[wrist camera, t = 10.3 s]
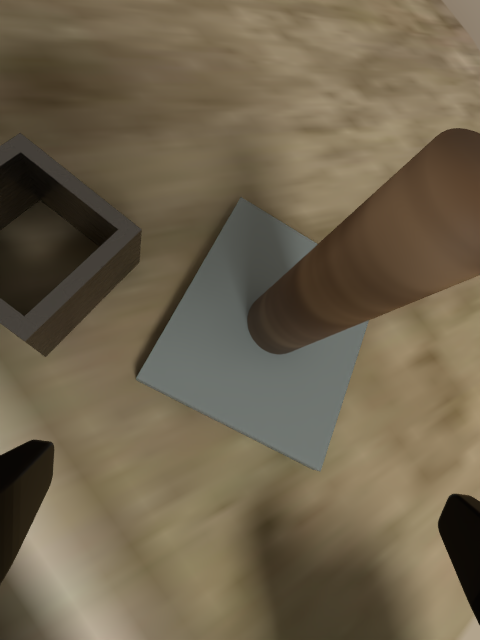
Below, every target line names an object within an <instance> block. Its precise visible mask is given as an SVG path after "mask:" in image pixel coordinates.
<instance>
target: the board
mask: <svg viewBox="0 0 480 640" xmlns="http://www.w3.org/2000/svg"><path fill="white" fill-rule="evenodd" d="M316 245H318V244H317V243H315V242H313V241H312V240H310V239H308V238H307V237H305V236H304V235H302V234H300V233H299V232H297V231H295V230H294V229H292V228H291V227H289V226H287V225H286V224H284V223H282V222H281V221H279V220H278V219H276V218H274V217H273V216H271V215H269V214H268V213H266V212H265V211H263V210H261V209H260V208H258V207H256V206H255V205H253V204H252V203H250V202H248V201H247V200H245V199H243V198H242V197H241V198H240V199H239V201H238V203H237V205H236V206H235V208H234V210H233V211H232V213H231V215H230V217H229V218H228V220H227V222H226V224H225V225H224V227H223V229H222V230H221V232H220V234H219V236H218V237H217V239H216V241H215V243H214V244H213V246H212V248H211V250H210V251H209V253H208V255H207V256H206V258H205V260H204V262H203V263H202V265H201V267H200V269H199V270H198V272H197V274H196V275H195V277H194V279H193V281H192V282H191V284H190V286H189V288H188V289H187V291H186V293H185V294H184V296H183V298H182V300H181V301H180V303H179V305H178V307H177V308H176V310H175V312H174V314H173V315H172V317H171V319H170V320H169V322H168V324H167V326H166V327H165V329H164V331H163V333H162V334H161V336H160V338H159V339H158V341H157V343H156V345H155V346H154V348H153V350H152V352H151V353H150V355H149V357H148V358H147V360H146V362H145V364H144V365H143V367H142V369H141V371H140V372H139V374H138V376H137V378H136V380H137V381H139V382H141V383H143V384H145V385H147V386H149V387H151V388H153V389H155V390H157V391H159V392H161V393H163V394H165V395H167V396H169V397H171V398H173V399H175V400H176V401H178V402H180V403H182V404H184V405H186V406H188V407H190V408H192V409H194V410H196V411H198V412H200V413H202V414H204V415H206V416H208V417H210V418H212V419H214V420H216V421H218V422H220V423H222V424H224V425H226V426H228V427H230V428H232V429H234V430H236V431H238V432H240V433H242V434H244V435H246V436H248V437H250V438H252V439H254V440H256V441H257V442H259V443H261V444H263V445H265V446H267V447H269V448H271V449H273V450H275V451H277V452H279V453H281V454H283V455H285V456H287V457H289V458H291V459H293V460H295V461H297V462H299V463H301V464H303V465H305V466H307V467H309V468H311V469H313V470H317V471H321V468H322V465H323V462H324V459H325V456H326V453H327V449H328V446H329V443H330V440H331V437H332V434H333V431H334V428H335V424H336V421H337V418H338V415H339V412H340V409H341V406H342V403H343V399H344V396H345V393H346V390H347V387H348V384H349V381H350V378H351V374H352V371H353V368H354V365H355V362H356V359H357V356H358V353H359V349H360V346H361V343H362V340H363V337H364V334H365V331H366V328H367V324H368V321H369V320H368V321H366V322H363V323H361V324H358V325H356V326H353V327H351V328H348V329H346V330H343V331H341V332H339V333H336V334H334V335H331V336H329V337H326V338H324V339H321V340H319V341H316V342H314V343H312V344H309V345H307V346H304V347H302V348H299V349H297V350H294V351H292V352H289V353H286V354H272V353H269V352H267V351H265V350H263V349H262V348H260V347H259V346H258V345H257V344H256V343H255V341H254V340H253V338H252V337H251V335H250V332H249V329H248V323H247V318H248V313H249V310H250V308H251V306H252V304H253V303H254V302H255V301H256V300H257V299H258V298H259V297H260V296H261V295H262V294H264V293H265V292H266V291H267V290H268V289H269V288H270V287H271V286H272V285H273V284H275V283H276V282H277V281H278V280H279V279H280V278H281V277H282V276H283V275H284V274H286V273H287V272H288V271H289V270H290V269H291V268H292V267H293V266H294V265H296V264H297V263H298V262H299V261H300V260H301V259H302V258H303V257H304V256H305V255H307V254H308V253H309V252H310V251H311V250H312V249H313V248H314V247H315V246H316Z"/></svg>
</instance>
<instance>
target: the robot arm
mask: <svg viewBox="0 0 480 640" xmlns="http://www.w3.org/2000/svg"><path fill="white" fill-rule="evenodd" d="M53 462H54V445H53V443H52V442H49V441H42V440H31V441H28V442H26V443H24V444H22V445H20V446H18V447H16V448H14V449H12V450H10V451H8V452H6V453H4V454H2V455H0V584H1V583H2V581H3V579H4V578H5V576H6V574H7V572H8V571H9V569H10V567H11V565H12V564H13V562H14V560H15V558H16V556H17V554H18V552H19V549H20V547H21V545H22V543H23V541H24V539H25V537H26V535H27V533H28V531H29V529H30V526H31V524H32V522H33V520H34V518H35V516H36V514H37V512H38V510H39V508H40V505H41V503H42V501H43V499H44V497H45V495H46V493H47V491H48V489H49V486H50V484H51V481H52V476H53ZM438 529H439V533H440V535H441V538H442V540H443V542H444V545H445V547H446V550H447V552H448V554H449V557H450V559H451V562H452V564H453V566H454V569H455V571H456V574H457V576H458V578H459V581H460V583H461V586H462V588H463V590H464V593H465V595H466V597H467V600H468V602H469V604H470V606H471V609H472V611H473V613H474V615H475V617H476V619H477V621H478V623H479V625H480V501H478V500H477V499H475V498H473V497H472V496H469V495H462V494H452V495H450V496H449V498H448V499H447V502H446V504H445V506H444V509H443V511H442V513H441V516H440V518H439V521H438Z"/></svg>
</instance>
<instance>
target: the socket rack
mask: <svg viewBox="0 0 480 640" xmlns="http://www.w3.org/2000/svg"><path fill="white" fill-rule="evenodd" d="M39 200H41V201H42V202H44V203H45V204H46V205H48V206H49V207H50V208H51V209H53V210H54V211H55V212H56V213H58V214H59V215H60V216H62V217H63V218H64V219H65V220H67V221H68V222H69V223H70V224H72V225H73V226H74V227H76V228H77V229H78V230H79V231H81V232H82V233H83V234H84V235H86V236H87V237H88V238H90V239H91V240H92V241H93V242H95V243H96V244H97V245H98V246H100V247H99V248H98V249H97V250H96V251H95V252H94V253H92V254H91V255H90V256H89V257H88V258H87V259H86V260H85V261H84V262H83V263H82V264H81V265H79V266H78V267H77V268H76V269H75V270H74V271H73V272H72V273H71V274H70V275H69V276H68V277H66V278H65V279H64V280H63V281H62V282H61V283H60V284H59V285H58V286H57V287H56V288H55V289H53V290H52V291H51V292H50V293H49V294H48V295H47V296H46V297H45V298H44V299H43V300H42V301H40V302H39V303H38V304H37V305H36V306H35V307H34V308H33V309H32V310H31V311H30V312H29V313H27V314H26V315H25V316H23V315H22V314H21V313H19V312H18V311H17V310H15V309H14V308H13V307H11V306H10V305H9V304H7V303H6V302H5V301H3V300H2V299H1V298H0V323H1V324H2V325H3V326H5V327H6V328H7V329H9V330H10V331H11V332H13V333H14V334H15V335H17V336H18V337H19V338H21V339H22V340H24V341H25V342H26V343H28V344H29V345H30V346H32V347H33V348H34V349H36V350H37V351H38V352H40V353H41V354H42V355H44V356H45V357H46V356H47V355H48V354H49V353H50V352H51V351H52V350H53V349H54V348H55V347H56V346H57V345H58V344H59V343H60V342H61V341H62V340H63V339H64V338H65V337H66V336H67V335H68V334H69V333H70V332H71V331H72V330H73V329H74V328H75V327H76V326H77V325H78V324H79V323H80V322H81V321H82V320H83V319H84V318H85V317H86V316H87V315H88V314H89V313H90V311H91V310H92V309H93V308H94V307H95V306H96V305H97V304H98V303H99V302H100V301H101V300H102V299H103V298H104V297H105V296H106V295H107V294H108V293H109V292H110V291H111V290H112V289H113V288H114V287H115V286H116V285H117V284H118V283H119V282H120V281H121V280H122V279H123V278H124V277H125V276H126V275H127V274H128V273H129V272H130V271H131V270H132V269H133V268H134V267H135V266H136V265H137V264H138V263H139V260H140V245H141V229H140V228H139V227H138V226H136V225H135V224H134V223H133V222H131V221H130V220H129V219H128V218H126V217H125V216H124V215H123V214H121V213H120V212H119V211H118V210H116V209H115V208H114V207H112V206H111V205H110V204H109V203H107V202H106V201H105V200H104V199H102V198H101V197H100V196H99V195H97V194H96V193H95V192H94V191H92V190H91V189H90V188H89V187H87V186H86V185H85V184H84V183H82V182H81V181H80V180H79V179H77V178H76V177H75V176H74V175H72V174H71V173H70V172H69V171H67V170H66V169H65V168H64V167H62V166H61V165H60V164H59V163H57V162H56V161H55V160H54V159H52V158H51V157H50V156H49V155H47V154H46V153H45V152H44V151H42V150H41V149H40V148H39V147H37V146H36V145H35V144H34V143H32V142H31V141H30V140H28V139H27V138H26V137H25V136H23V135H22V134H21V133H19V134H18V135H16V136H15V137H13V138H12V139H10V140H9V141H7V142H6V143H4V144H3V145H1V146H0V230H1V229H2V228H4V227H5V226H6V225H8V224H9V223H10V222H11V221H13V220H14V219H15V218H17V217H18V216H19V215H20V214H22V213H23V212H24V211H26V210H27V209H28V208H29V207H31V206H32V205H33V204H35V203H36V202H37V201H39Z"/></svg>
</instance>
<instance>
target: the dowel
mask: <svg viewBox="0 0 480 640" xmlns="http://www.w3.org/2000/svg"><path fill="white" fill-rule="evenodd" d="M478 275H480V133H477V132H474V131H471V130H467V129H461V128H456V129H449V130H446V131H444V132H442V133H440V134H439V135H438V136H436V137H435V138H434V139H433V140H432V141H431V142H430V143H429V144H428V145H427V146H425V147H424V148H423V149H422V150H421V151H420V152H419V153H418V154H417V155H416V156H414V157H413V158H412V159H411V160H410V161H409V162H408V163H407V164H406V165H405V166H403V167H402V168H401V169H400V170H399V171H398V172H397V173H396V174H395V175H394V176H392V177H391V178H390V179H389V180H388V181H387V182H386V183H385V184H384V185H382V186H381V187H380V188H379V189H378V190H377V191H376V192H375V193H374V194H373V195H371V196H370V197H369V198H368V199H367V200H366V201H365V202H364V203H363V204H362V205H360V206H359V207H358V208H357V209H356V210H355V211H354V212H353V213H352V214H351V215H349V216H348V217H347V218H346V219H345V220H344V221H343V222H342V223H341V224H340V225H338V226H337V227H336V228H335V229H334V230H333V231H332V232H331V233H330V234H329V235H327V236H326V237H325V238H324V239H323V240H322V241H321V242H320V243H319V244H318V245H316V246H315V247H314V248H313V249H312V250H311V251H310V252H309V253H308V254H307V255H305V256H304V257H303V258H302V259H301V260H300V261H299V262H298V263H297V264H296V265H294V266H293V267H292V268H291V269H290V270H289V271H288V272H287V273H286V274H284V275H283V276H282V277H281V278H280V279H279V280H278V281H277V282H276V283H275V284H273V285H272V286H271V287H270V288H269V289H268V290H267V291H266V292H265V293H264V294H262V295H261V296H260V297H259V298H258V299H257V300H256V301H255V302H254V303H253V304H252V306H251V308H250V310H249V313H248V318H247V323H248V329H249V332H250V335H251V337H252V338H253V340H254V341H255V343H256V344H257V345H258V346H259V347H260V348H262V349H263V350H265V351H267V352H269V353H272V354H286V353H289V352H292V351H294V350H297V349H299V348H302V347H304V346H307V345H309V344H312V343H314V342H316V341H319V340H321V339H324V338H326V337H329V336H331V335H334V334H336V333H339V332H341V331H343V330H346V329H348V328H351V327H353V326H356V325H358V324H361V323H363V322H366V321H368V320H370V319H373V318H375V317H378V316H380V315H383V314H385V313H388V312H390V311H393V310H395V309H397V308H400V307H402V306H405V305H407V304H410V303H412V302H415V301H417V300H420V299H422V298H424V297H427V296H429V295H432V294H434V293H437V292H439V291H442V290H444V289H447V288H449V287H451V286H454V285H456V284H459V283H461V282H464V281H466V280H469V279H471V278H474V277H476V276H478Z"/></svg>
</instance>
